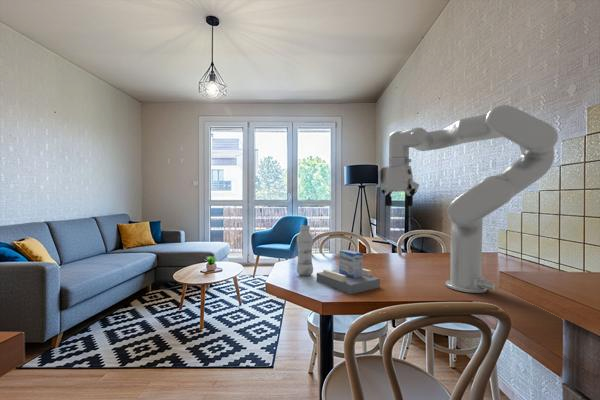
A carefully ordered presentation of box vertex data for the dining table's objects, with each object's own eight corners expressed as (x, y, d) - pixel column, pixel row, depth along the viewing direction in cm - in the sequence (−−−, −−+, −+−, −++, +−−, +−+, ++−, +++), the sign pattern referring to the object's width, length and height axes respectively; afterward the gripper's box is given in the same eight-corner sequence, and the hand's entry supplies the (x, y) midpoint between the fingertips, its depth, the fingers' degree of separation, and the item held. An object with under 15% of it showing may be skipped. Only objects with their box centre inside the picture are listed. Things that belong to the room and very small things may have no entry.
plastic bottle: (313, 277, 111) (313, 226, 111) (296, 277, 112) (296, 226, 112) (312, 273, 118) (313, 225, 118) (296, 273, 118) (297, 225, 118)
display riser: (379, 287, 100) (379, 272, 100) (350, 294, 92) (351, 278, 92) (343, 275, 115) (344, 263, 115) (316, 281, 107) (316, 267, 107)
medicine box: (338, 273, 106) (338, 250, 106) (347, 272, 109) (347, 249, 109) (354, 278, 100) (354, 253, 100) (362, 276, 102) (363, 252, 102)
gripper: (424, 161, 109) (423, 206, 109) (387, 165, 123) (386, 205, 123) (412, 159, 104) (412, 206, 104) (375, 164, 119) (375, 205, 119)
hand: (398, 206), depth 114 cm, fingers open, 9 cm apart
